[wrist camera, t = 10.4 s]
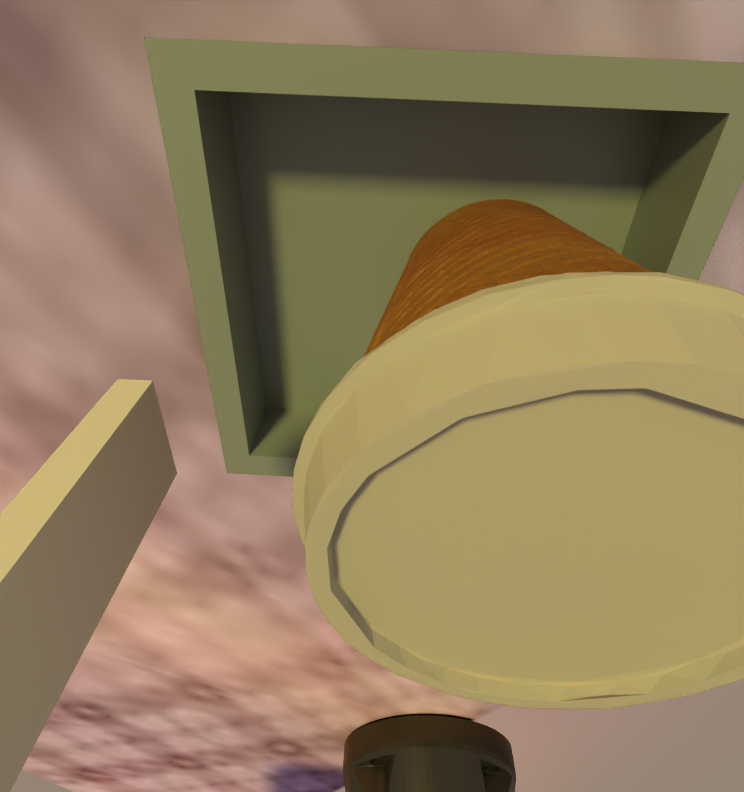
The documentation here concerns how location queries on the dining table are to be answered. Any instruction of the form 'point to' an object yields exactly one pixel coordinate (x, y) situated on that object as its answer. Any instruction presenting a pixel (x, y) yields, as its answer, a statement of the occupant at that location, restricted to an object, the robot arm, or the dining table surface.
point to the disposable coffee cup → (535, 473)
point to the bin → (407, 189)
